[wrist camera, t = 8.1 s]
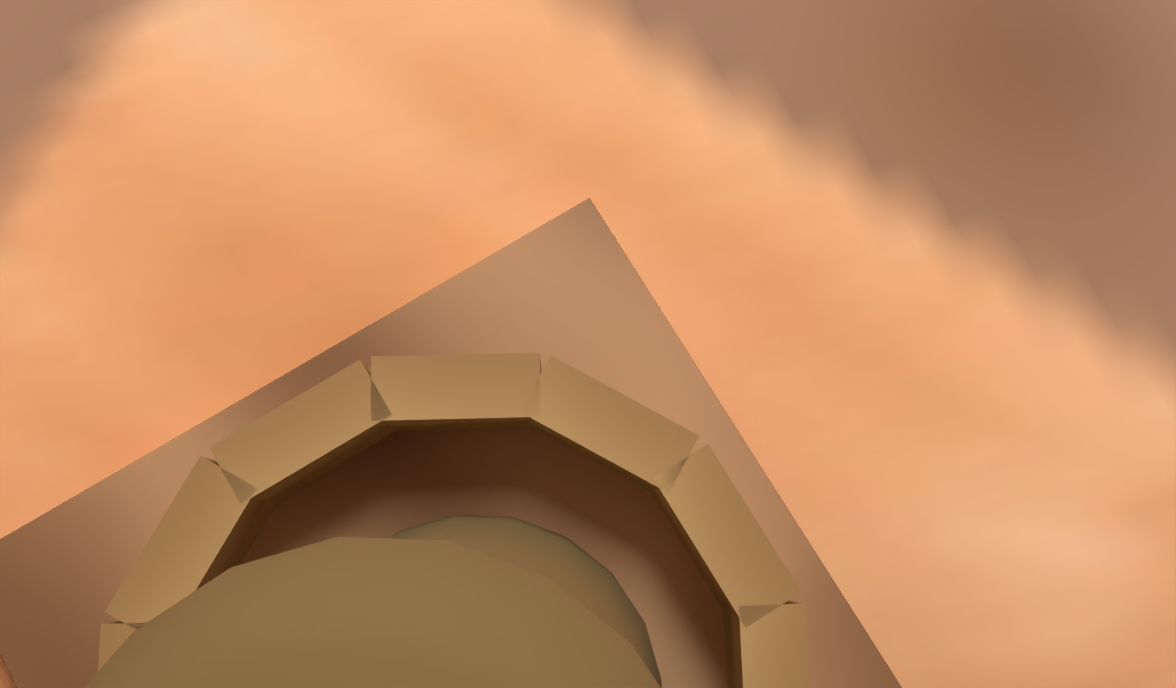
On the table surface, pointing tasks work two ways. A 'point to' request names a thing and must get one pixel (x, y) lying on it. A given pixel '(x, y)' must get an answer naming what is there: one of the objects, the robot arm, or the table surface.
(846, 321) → the table surface
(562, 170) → the table surface
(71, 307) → the table surface
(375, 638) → the olive green peg
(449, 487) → the hub board
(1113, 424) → the table surface
